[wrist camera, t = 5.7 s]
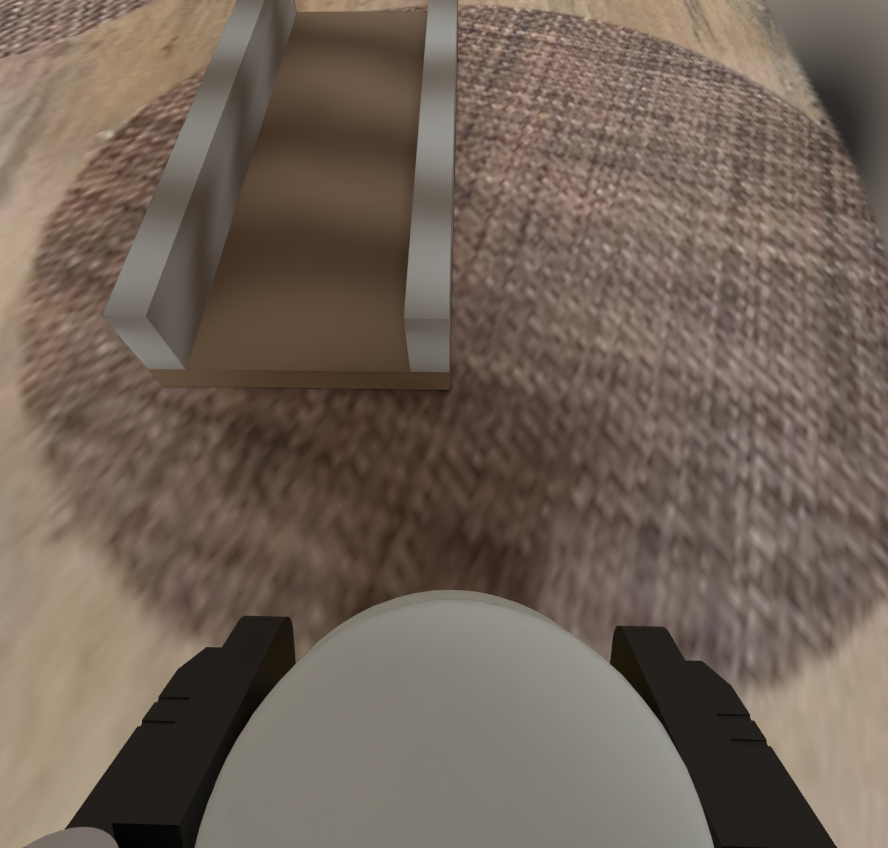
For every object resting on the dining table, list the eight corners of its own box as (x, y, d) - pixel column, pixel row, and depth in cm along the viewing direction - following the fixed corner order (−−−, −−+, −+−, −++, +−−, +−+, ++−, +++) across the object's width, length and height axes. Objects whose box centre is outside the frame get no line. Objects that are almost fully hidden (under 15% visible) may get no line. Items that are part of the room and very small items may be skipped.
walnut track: (449, 389, 18) (448, 318, 14) (162, 386, 18) (102, 315, 15) (458, 33, 28) (458, -52, 25) (278, 34, 28) (257, -50, 25)
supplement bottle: (289, 867, 12) (-136, 1237, 3) (382, 617, 14) (282, 454, 6) (536, 979, 11) (850, 1907, 2) (589, 691, 13) (834, 628, 5)
